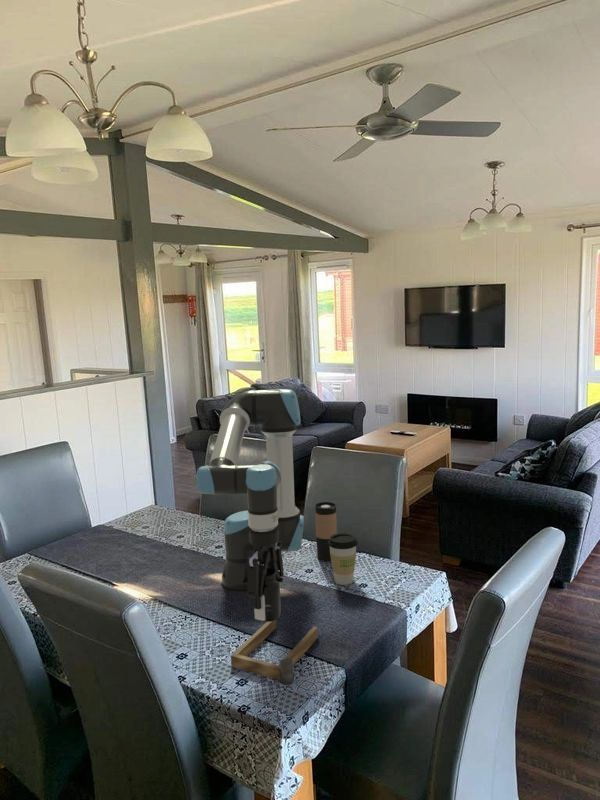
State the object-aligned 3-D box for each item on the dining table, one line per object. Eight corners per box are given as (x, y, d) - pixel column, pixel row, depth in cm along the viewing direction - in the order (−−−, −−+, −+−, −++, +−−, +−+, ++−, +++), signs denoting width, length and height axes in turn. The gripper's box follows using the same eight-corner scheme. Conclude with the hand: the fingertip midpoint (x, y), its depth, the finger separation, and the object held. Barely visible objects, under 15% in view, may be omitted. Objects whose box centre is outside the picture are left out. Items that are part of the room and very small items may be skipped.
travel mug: (315, 554, 218) (313, 502, 215) (336, 552, 219) (334, 501, 216) (318, 562, 210) (316, 509, 208) (339, 561, 211) (337, 507, 208)
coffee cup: (356, 588, 190) (355, 544, 188) (327, 586, 192) (325, 542, 190) (360, 575, 199) (359, 532, 197) (331, 573, 201) (330, 531, 199)
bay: (229, 668, 149) (228, 650, 148) (272, 626, 168) (272, 610, 167) (289, 685, 141) (288, 666, 140) (327, 639, 160) (327, 622, 159)
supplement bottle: (261, 625, 146) (258, 579, 144) (250, 613, 152) (248, 570, 151) (285, 618, 149) (283, 573, 148) (274, 607, 155) (272, 564, 154)
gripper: (255, 542, 137) (260, 634, 140) (295, 516, 154) (298, 598, 157) (229, 538, 141) (234, 627, 144) (270, 513, 158) (274, 593, 161)
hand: (267, 612), depth 151 cm, fingers closed on supplement bottle, 7 cm apart
